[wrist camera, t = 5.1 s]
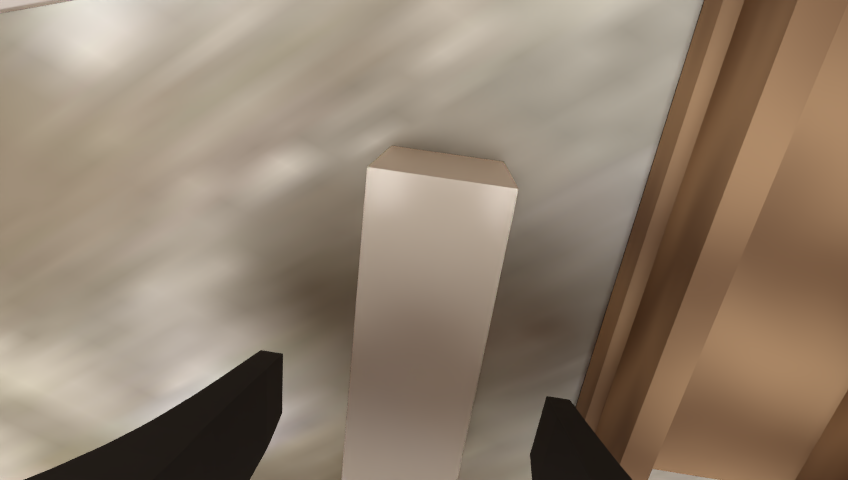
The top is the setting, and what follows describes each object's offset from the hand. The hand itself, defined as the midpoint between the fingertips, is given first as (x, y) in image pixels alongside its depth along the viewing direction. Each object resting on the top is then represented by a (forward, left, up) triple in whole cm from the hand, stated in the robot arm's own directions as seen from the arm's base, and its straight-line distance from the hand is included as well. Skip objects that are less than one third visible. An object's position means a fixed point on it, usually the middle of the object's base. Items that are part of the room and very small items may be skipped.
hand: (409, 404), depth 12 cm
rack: (+4, -11, -4) cm, 12 cm away
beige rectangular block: (0, 0, -5) cm, 5 cm away
